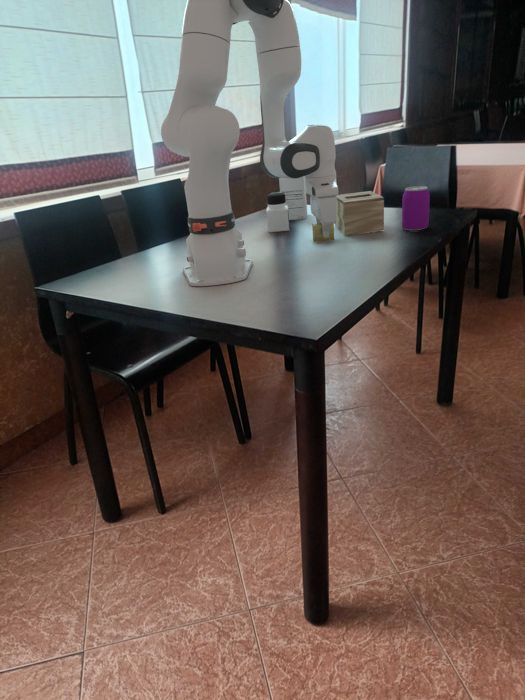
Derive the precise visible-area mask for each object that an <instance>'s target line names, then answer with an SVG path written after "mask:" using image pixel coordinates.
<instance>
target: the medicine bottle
mask: <svg viewBox="0 0 525 700" xmlns="http://www.w3.org/2000/svg"><path fill="white" fill-rule="evenodd" d="M266 200H267V207H266V221H267V228H268V229H267V230H268V233H280V232H288V231H290V228H291V227H290V220H289V214H288V206H287V205H286V198H285V194H284V193H282V192H280V191H277V192H271V193H269V194H267V196H266Z"/></svg>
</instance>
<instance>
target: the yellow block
mask: <svg viewBox="0 0 525 700" xmlns="http://www.w3.org/2000/svg"><path fill="white" fill-rule="evenodd" d="M311 226H312V228H311V229H312V241H313V242H314V243H321V242H329V241H335V224H330V230H329V237H323V235H322V231H323V226H322V223H317V222H316V223H312V224H311Z"/></svg>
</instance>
